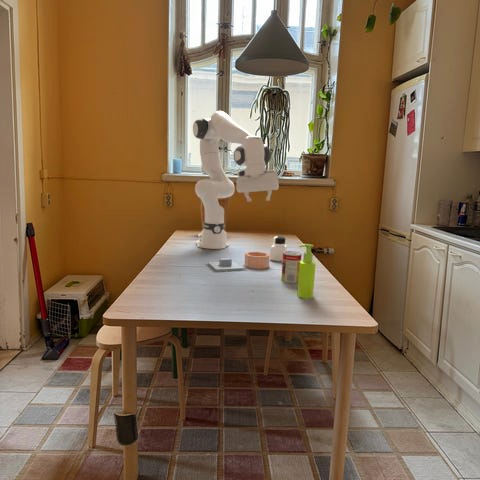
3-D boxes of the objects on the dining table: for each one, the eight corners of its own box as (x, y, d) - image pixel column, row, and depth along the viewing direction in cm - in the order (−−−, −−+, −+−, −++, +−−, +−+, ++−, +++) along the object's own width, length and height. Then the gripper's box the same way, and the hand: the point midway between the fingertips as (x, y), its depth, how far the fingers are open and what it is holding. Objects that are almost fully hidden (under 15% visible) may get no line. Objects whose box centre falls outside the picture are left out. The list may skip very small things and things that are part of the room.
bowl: (241, 264, 199) (242, 252, 198) (262, 263, 203) (263, 251, 201) (250, 269, 189) (251, 257, 187) (271, 268, 193) (272, 256, 191)
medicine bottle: (286, 258, 214) (287, 236, 212) (283, 261, 207) (284, 238, 205) (273, 257, 216) (274, 235, 214) (269, 260, 210) (271, 237, 207)
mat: (204, 264, 194) (204, 263, 194) (235, 263, 200) (235, 262, 200) (214, 273, 180) (214, 272, 180) (247, 271, 185) (247, 270, 185)
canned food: (297, 278, 179) (299, 251, 176) (301, 283, 171) (303, 255, 169) (280, 277, 178) (281, 250, 176) (282, 282, 171) (284, 254, 168)
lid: (207, 264, 193) (208, 256, 193) (233, 263, 198) (233, 255, 197) (216, 271, 181) (216, 262, 181) (243, 270, 186) (243, 261, 185)
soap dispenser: (293, 293, 157) (296, 242, 153) (310, 293, 158) (314, 243, 154) (296, 298, 151) (300, 245, 148) (314, 298, 152) (318, 246, 148)
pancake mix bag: (228, 236, 272) (229, 194, 266) (199, 235, 270) (200, 193, 265) (227, 234, 278) (229, 193, 273) (199, 233, 277) (201, 192, 271)
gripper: (279, 169, 186) (281, 199, 188) (239, 173, 195) (242, 202, 197) (274, 169, 180) (277, 200, 182) (233, 173, 189) (236, 203, 191)
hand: (258, 201), depth 189 cm, fingers open, 8 cm apart
